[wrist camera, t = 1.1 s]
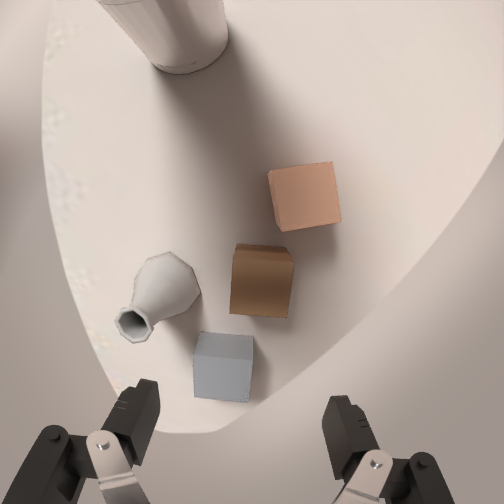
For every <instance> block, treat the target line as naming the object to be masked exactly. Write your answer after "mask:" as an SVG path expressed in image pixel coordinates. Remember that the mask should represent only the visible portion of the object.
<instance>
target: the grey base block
mask: <svg viewBox="0 0 504 504" xmlns="http://www.w3.org/2000/svg"><path fill="white" fill-rule="evenodd" d="M252 366H253V336H242V335H230V334H219V333H209V332H200V335H199V338H198V341H197V344H196V347H195V350H194V352H193V378H194V397H198V398H206V399H214V400H224V401H235V402H249V394H250V384H251V375H252Z"/></svg>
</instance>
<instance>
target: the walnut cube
mask: <svg viewBox="0 0 504 504" xmlns="http://www.w3.org/2000/svg"><path fill="white" fill-rule="evenodd" d="M293 268H294V261H293V260H292V258H291V256H290V254H289V252H288V250H287V249H286V248H283V247H271V246H259V245H247V244H237V246H236V249H235V253H234V256H233V265H232V281H231V296H230V313H229V314H241V315H254V316H268V317H284V318H287V313H288V306H289V299H290V291H291V284H292V276H293Z"/></svg>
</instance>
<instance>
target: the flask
mask: <svg viewBox="0 0 504 504" xmlns="http://www.w3.org/2000/svg"><path fill="white" fill-rule="evenodd" d="M200 293H201V292H200V290H199V287H198V284H197V281H196V278H195V275H194V273H193V270H192V268H191V267H190V266H189V265H187V264H186V263H185V262H183V261H182V260H181V259H179V258H178V257H176V256H175V255H174V254H172V253H171V252H167V253H164V254H161V255H158V256H154V257H151V258H148V259H146V261H145V263H144V264H143V266H142V268H141V269H140V271H139V273H138V274H137V276H136V278H135V281H134V291H133V297H132V303H131V305H130V306H129V307H125V308H122V309H121V310H120V311H119V313H118V315H117V317H116V318H115V320H114V321H115V323H116V326H117V328H118V330H119V332H120V334H121V335H122V336H124V337H125V338H126V339H128V340H129V341H130V342H132V343H139V342H144V341H146V340H147V339H148V337H149V336H150V334H151V333H152V331H153V330H154V327H153V326H154V325H155V324H156V323H158V322H159V321H161V320H163V319H166V318H169V317H171V316H174V315H177V314H181V313H184V312H186V311H187V310H188V309H189V308H190V306H191V305H192V304H193V302H194V301H195V299H196V298H197V297H198V295H199V294H200Z"/></svg>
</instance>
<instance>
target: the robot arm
mask: <svg viewBox="0 0 504 504" xmlns="http://www.w3.org/2000/svg"><path fill="white" fill-rule="evenodd" d="M97 2H98V3H99V4H100V5H101V6H102V7H103V8H104V9H105V10H106V11H107V12H108V13H109V14H110V16H111V17H112V18H113V19H114V20H115V21H116V22H117V23H118V24H119V26H120V27H121V28H122V29H123V30H124V31H125V32H126V33H127V34H128V36H129V37H130V38H131V39H132V40H133V41H134V42H135V44H136V45H137V46H138V47H139V48H140V49H141V51H142V52H143V53H144V54H145V55H146V56H147V58H148V59H149V60H150V61H151V62H152V63H153V65H155V66H156V67H157V68H158V69H160V70H162V71H164V72H167V73H172V74H185V73H191V72H194V71H198V70H200V69H202V68H204V67H207V66H208V65H210V64H211V63H213V62H214V61H215V60H216V59H217V58H218V57H219V56H220V55H221V54H222V53H223V51H224V50H225V48H226V45H227V43H228V29H227V23H226V16H225V10H224V4H223V0H97ZM159 414H160V398H159V390H158V383H157V382H156V381H151V380H146V379H140V381H139V383H138V384H137V386H136V388H134V387H128V388H127V389H125V390H124V391H123V392H122V393H121V394H120V396H119V398H118V401H117V402H116V403H115V405H114V407H113V409H112V410H111V412H110V414H109V416H108V418H107V419H106V421H105V423H104V425H103V427H102V428H101V430H97V431H94V432H92V433H91V434H90V435H89V436H77V435H69V434H68V432H67V431H66V430H65V429H64V428H63V427H61V426H58V425H50V426H47V427H45V428H44V429H43V430H42V432H41V433H40V435H39V436H38V438H37V440H36V441H35V443H34V445H33V446H32V448H31V450H30V451H29V453H28V455H27V457H26V459H25V460H24V462H23V464H22V466H21V467H20V469H19V471H18V473H17V475H16V477H15V479H14V481H13V482H12V484H11V486H10V488H9V490H8V492H7V494H6V496H5V498H4V500H3V502H2V504H77V501H78V499H79V496H80V493H81V491H82V488H83V485H84V483H85V480H86V478H94V479H99V487H100V489H101V492H102V494H103V496H104V499H105V501H106V503H107V504H150V502H149V501H148V499H147V497H146V496H145V494H144V492H143V490H142V488H141V486H140V485H139V483H138V481H137V479H136V477H135V475H134V474H133V472H132V470H131V469H132V467H133V464H135V465H139V466H141V464H142V461H143V458H144V456H145V453H146V450H147V447H148V444H149V442H150V438H151V436H152V433H153V431H154V428H155V425H156V422H157V420H158V417H159ZM322 429H323V433H324V437H325V441H326V444H327V449H328V452H329V457H330V461H331V465H332V468H333V473H334V477H335V480H339V479H344V483H345V484H344V485H343V487H342V488H341V490H340V492H339V493H338V495H337V496H336V497H335V499H334V500H333V502H332V503H331V504H378V503H379V499H378V498H385V501H386V504H455V503H454V501H453V498H452V496H451V494H450V491H449V489H448V487H447V485H446V482H445V480H444V478H443V476H442V473H441V471H440V469H439V467H438V465H437V462H436V460H435V459H434V457H433V456H432V455H430V454H428V453H425V452H418V453H416V454H414V455H413V456H412V457H411V458H410V459H394V458H391V456H390V455H389V454H388V453H387V452H385V451H383V450H380V449H379V446H378V444H377V441H376V439H375V437H374V434H373V432H372V430H371V427H370V425H369V423H368V421H367V418H366V416H365V414H364V411H363V410H362V409H361V408H359V407H358V406H357V405H351V403H350V400H349V398H348V396H347V395H343V396H331V397H330V399H329V402H328V405H327V407H326V410H325V413H324V415H323V419H322Z"/></svg>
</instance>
